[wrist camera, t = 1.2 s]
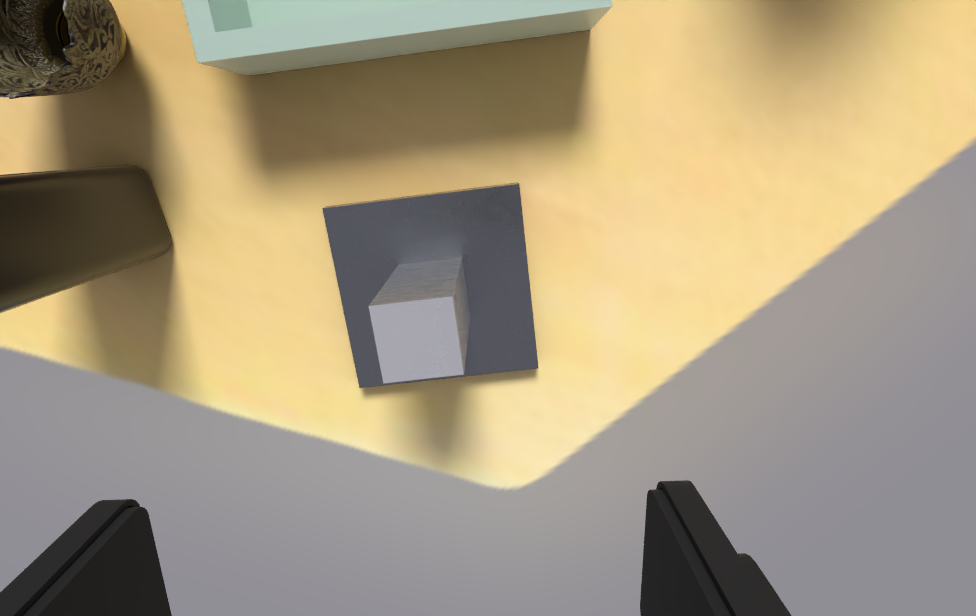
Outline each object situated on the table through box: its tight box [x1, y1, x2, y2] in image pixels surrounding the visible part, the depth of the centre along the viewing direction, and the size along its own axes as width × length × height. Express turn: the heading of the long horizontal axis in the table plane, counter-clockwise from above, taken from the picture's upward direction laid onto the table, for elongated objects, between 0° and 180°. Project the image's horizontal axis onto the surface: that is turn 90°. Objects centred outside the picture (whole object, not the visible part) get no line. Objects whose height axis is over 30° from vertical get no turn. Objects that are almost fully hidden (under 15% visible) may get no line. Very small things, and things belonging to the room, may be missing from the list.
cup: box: [0, 0, 126, 99], centre depth 28 cm, size 8×7×8 cm
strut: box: [369, 257, 470, 383], centre depth 31 cm, size 4×4×9 cm
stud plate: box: [323, 183, 538, 388], centre depth 34 cm, size 12×12×5 cm
